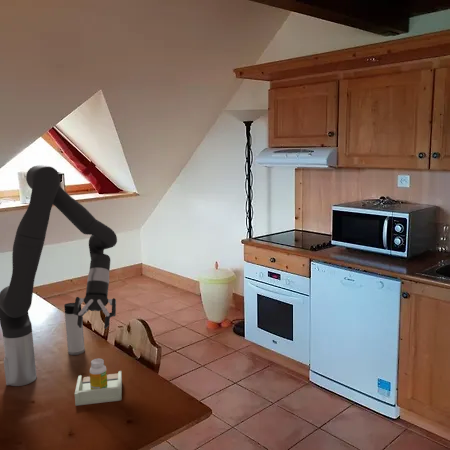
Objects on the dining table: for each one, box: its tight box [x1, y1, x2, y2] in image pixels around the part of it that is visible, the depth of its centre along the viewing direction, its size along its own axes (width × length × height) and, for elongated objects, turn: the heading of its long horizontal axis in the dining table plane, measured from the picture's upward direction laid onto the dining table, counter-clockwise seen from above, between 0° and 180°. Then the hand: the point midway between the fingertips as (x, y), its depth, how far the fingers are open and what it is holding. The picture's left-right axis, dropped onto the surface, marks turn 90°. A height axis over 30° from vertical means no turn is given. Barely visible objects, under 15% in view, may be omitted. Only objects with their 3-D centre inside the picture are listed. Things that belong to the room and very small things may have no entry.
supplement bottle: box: [89, 357, 108, 390], centre depth 157 cm, size 5×5×10 cm
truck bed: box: [74, 370, 123, 406], centre depth 159 cm, size 14×17×4 cm
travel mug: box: [64, 302, 86, 356], centre depth 187 cm, size 6×7×20 cm
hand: (92, 327), depth 166 cm, fingers open, 8 cm apart
